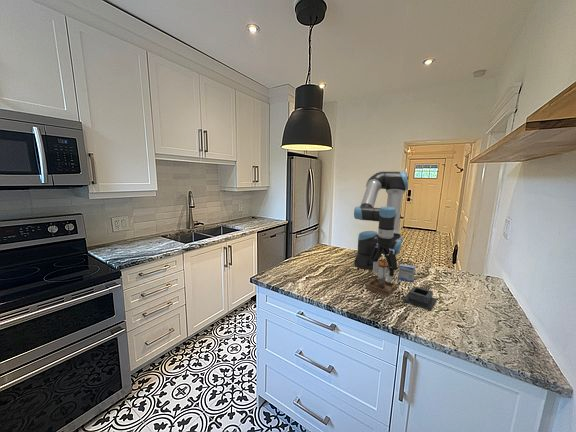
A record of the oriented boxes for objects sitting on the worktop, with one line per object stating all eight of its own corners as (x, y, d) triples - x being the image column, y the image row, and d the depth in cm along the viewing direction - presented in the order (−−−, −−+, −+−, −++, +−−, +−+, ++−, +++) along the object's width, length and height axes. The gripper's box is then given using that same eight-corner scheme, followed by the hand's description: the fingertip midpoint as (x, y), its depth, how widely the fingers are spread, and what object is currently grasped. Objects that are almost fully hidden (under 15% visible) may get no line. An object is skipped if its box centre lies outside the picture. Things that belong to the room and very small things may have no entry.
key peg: (375, 286, 132) (377, 259, 130) (381, 285, 134) (383, 259, 131) (380, 289, 129) (382, 262, 126) (386, 288, 130) (388, 261, 127)
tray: (374, 281, 140) (374, 277, 139) (396, 288, 132) (396, 284, 131) (365, 289, 131) (365, 284, 130) (388, 296, 123) (388, 291, 122)
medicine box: (398, 279, 143) (399, 265, 142) (398, 276, 147) (399, 263, 146) (413, 282, 140) (414, 268, 138) (413, 279, 144) (414, 265, 142)
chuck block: (410, 292, 127) (411, 283, 126) (436, 301, 119) (437, 291, 118) (402, 301, 118) (403, 291, 117) (430, 310, 110) (432, 300, 110)
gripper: (365, 232, 136) (363, 269, 140) (395, 243, 114) (391, 287, 118) (376, 231, 138) (374, 268, 142) (408, 242, 117) (404, 285, 120)
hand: (382, 277), depth 130 cm, fingers open, 10 cm apart
